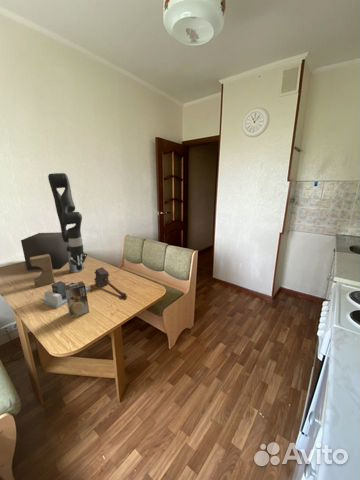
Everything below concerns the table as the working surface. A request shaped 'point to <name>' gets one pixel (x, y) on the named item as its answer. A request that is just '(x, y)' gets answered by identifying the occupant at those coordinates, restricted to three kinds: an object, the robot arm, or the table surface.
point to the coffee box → (76, 299)
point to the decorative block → (43, 270)
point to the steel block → (59, 289)
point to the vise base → (56, 298)
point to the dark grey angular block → (46, 249)
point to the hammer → (105, 280)
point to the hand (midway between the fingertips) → (79, 269)
